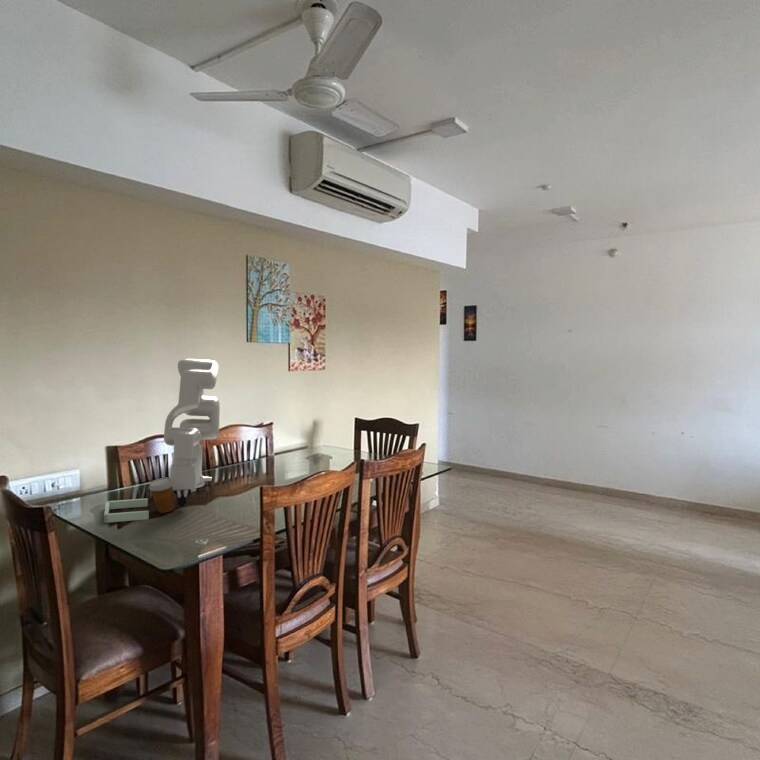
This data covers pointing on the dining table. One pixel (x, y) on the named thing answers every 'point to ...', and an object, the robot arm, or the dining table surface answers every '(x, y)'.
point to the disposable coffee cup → (163, 494)
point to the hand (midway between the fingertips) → (181, 505)
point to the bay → (125, 515)
